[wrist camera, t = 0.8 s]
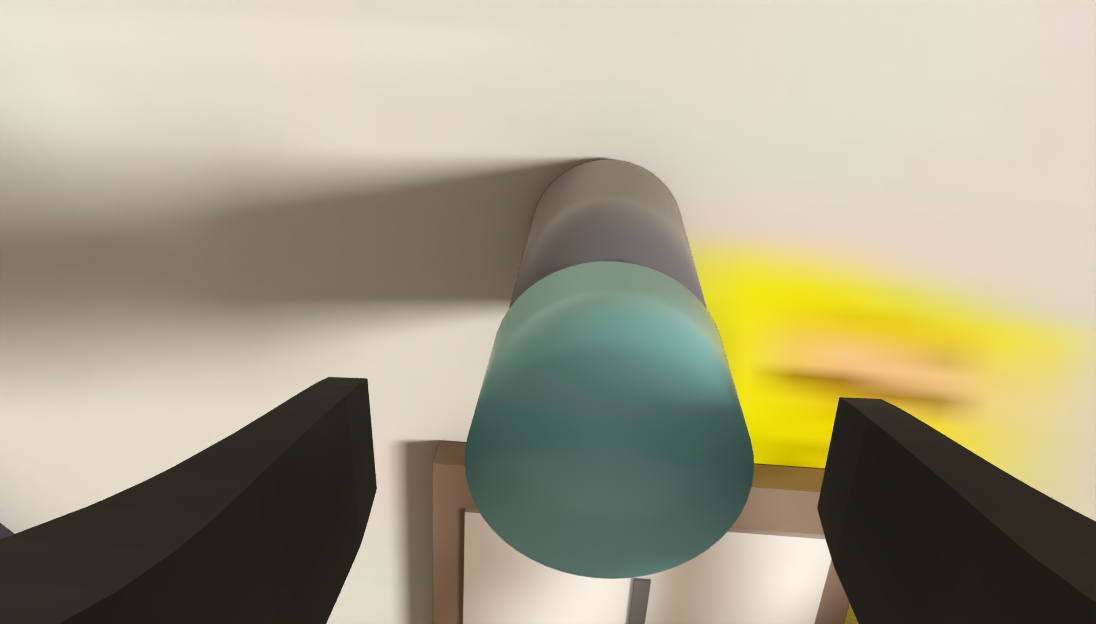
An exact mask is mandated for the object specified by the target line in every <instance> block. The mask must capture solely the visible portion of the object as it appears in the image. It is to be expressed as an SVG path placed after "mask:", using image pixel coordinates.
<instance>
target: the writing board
mask: <svg viewBox="0 0 1096 624" xmlns="http://www.w3.org/2000/svg"><path fill="white" fill-rule="evenodd" d="M465 447H466V443H462V442H448V441H440V442H439V445H438V448H437V451H436V454H435V457H434V460H433V624H844V621H845V617H846V614H847V610H848V607H849V603H850V602H849V600H848V598H847V596H846V593H845V591H844V589H843V587H842V584H841V582H840V580H839V577H838V575H837V573H836V570H835V568H834V565H833V562H832V559H831V556H830V552H829V549H828V546H827V543H826V539H825V536H824V532H823V528H822V525H821V521H820V517H819V514H818V510H817V506H818V501H819V496H820V491H821V486H822V481H823V476H824V471H825V469H815V468H801V467H788V466H774V465H760V464H754V474H753V481H752V487H751V490H750V493H749V496H748V500H747V502H746V504H745V506H744V508H743V510H742V512H741V514H740V516H739V517H738V518H737V520H736V521H735V523H734V524H733V526H732V527H731V528H730V529H729V530H728V531H727V533H726V534H725V535H724V536H723V537H722V538H721V539H720V540H719V541H717V542H716V543H715V544H714V545H713V546H711V547H710V548H709V549H708V550H706V551H705V552H703V553H702V554H700V555H698V556H697V557H695V558H694V559H692V560H690V561H687V562H685V563H683V564H681V565H679V566H677V567H674V568H671V569H668V570H666V571H663V572H659V573H655V574H651V575H647V576H640V577H633V578H620V579H604V578H591V577H584V576H577V575H573V574H569V573H565V572H561V571H558V570H555V569H552V568H550V567H547V566H544V565H542V564H540V563H538V562H536V561H534V560H531V559H529V558H528V557H526V556H525V555H523V554H521V553H520V552H518V551H516V550H515V549H514V548H512V547H511V546H510V545H509V544H507V543H506V542H505V541H503V540H502V539H501V538H500V537H499V536H498V535H497V534H496V533H495V532H494V531H493V530H492V529H491V527H490V526H489V525H488V524H487V522H486V521H485V520H484V519H483V517H482V516H481V514H480V512H479V510H478V509H477V507H476V505H475V504H474V501H473V499H472V496H471V494H470V491H469V488H468V484H467V480H466V475H465V462H464V459H465Z"/></svg>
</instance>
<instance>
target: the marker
mask: <svg viewBox="0 0 1096 624" xmlns="http://www.w3.org/2000/svg"><path fill="white" fill-rule="evenodd" d="M464 462H465V475H466V480H467V484H468V488H469V491H470V494H471V496H472V499H473V501H474V504H475V505H476V507H477V509H478V510H479V512H480V514H481V516H482V517H483V519H484V520H485V521H486V522H487V524H488V525H489V526H490V527H491V529H492V530H493V531H494V532H495V533H496V534H497V535H498V536H499V537H500V538H501V539H502V540H503V541H505V542H506V543H507V544H509V545H510V546H511V547H512V548H514V549H515V550H516V551H518V552H520V553H521V554H523V555H525V556H526V557H528V558H529V559H531V560H534V561H536V562H538V563H540V564H542V565H544V566H547V567H550V568H552V569H555V570H558V571H561V572H565V573H569V574H573V575H577V576H584V577H591V578H604V579H620V578H633V577H640V576H647V575H651V574H655V573H659V572H663V571H666V570H668V569H671V568H674V567H677V566H679V565H681V564H683V563H685V562H687V561H690V560H692V559H694V558H695V557H697V556H698V555H700V554H702V553H703V552H705V551H706V550H708V549H709V548H710V547H711V546H713V545H714V544H715V543H716V542H717V541H719V540H720V539H721V538H722V537H723V536H724V535H725V534H726V533H727V531H728V530H729V529H730V528H731V527H732V526H733V524H734V523H735V521H736V520H737V518H738V517H739V516H740V514H741V512H742V510H743V508H744V506H745V504H746V502H747V500H748V496H749V493H750V490H751V487H752V481H753V474H754V455H753V450H752V445H751V440H750V436H749V433H748V430H747V426H746V423H745V419H744V416H743V412H742V409H741V406H740V402H739V399H738V395H737V392H736V388H735V385H734V382H733V378H732V375H731V371H730V368H729V364H728V361H727V358H726V354H725V351H724V347H723V344H722V340H721V337H720V334H719V332H718V329H717V326H716V324H715V322H714V320H713V319H712V317H711V315H710V313H709V312H708V310H707V308H706V304H705V301H704V297H703V293H702V290H701V286H700V283H699V279H698V275H697V272H696V268H695V265H694V261H693V257H692V254H691V250H690V246H689V243H688V239H687V236H686V232H685V228H684V225H683V221H682V217H681V214H680V210H679V208H678V205H677V202H676V200H675V199H674V197H673V195H672V193H671V192H670V190H669V189H668V188H667V186H666V185H665V184H664V183H663V182H662V181H661V180H660V179H659V178H658V177H656V176H655V175H654V174H653V173H651V172H649V171H648V170H646V169H644V168H643V167H640V166H638V165H635V164H633V163H629V162H625V161H620V160H596V161H590V162H587V163H583V164H580V165H578V166H575V167H573V168H571V169H569V170H568V171H566V172H564V173H563V174H562V175H560V176H559V177H558V178H556V179H555V180H554V181H553V182H552V183H551V184H550V185H549V187H548V188H547V189H546V190H545V192H544V193H543V195H542V197H541V198H540V200H539V202H538V205H537V207H536V209H535V213H534V217H533V221H532V224H531V228H530V232H529V236H528V239H527V243H526V247H525V251H524V254H523V258H522V262H521V266H520V269H519V273H518V277H517V281H516V284H515V288H514V292H513V296H512V300H511V303H510V307H509V310H508V311H507V313H506V315H505V316H504V318H503V320H502V322H501V324H500V327H499V329H498V331H497V334H496V338H495V341H494V345H493V348H492V352H491V356H490V359H489V363H488V366H487V370H486V373H485V377H484V381H483V384H482V388H481V391H480V395H479V398H478V402H477V405H476V409H475V413H474V416H473V420H472V423H471V427H470V430H469V434H468V438H467V442H466V447H465V459H464Z"/></svg>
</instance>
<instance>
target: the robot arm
mask: <svg viewBox="0 0 1096 624" xmlns="http://www.w3.org/2000/svg"><path fill="white" fill-rule="evenodd" d="M376 489H377V486H376V474H375V463H374V451H373V439H372V427H371V416H370V404H369V392H368V380H367V379H364V378H339V377H328V378H326V379H324V380H321V381H319V382H318V383H316V384H314V385H312V386H310V387H309V388H307V389H305V390H304V391H302V392H300V393H299V394H297V395H295V396H294V397H292V398H291V399H289V400H287V401H286V402H284V403H283V404H281V405H279V406H278V407H276V408H274V409H273V410H271V411H270V412H268V413H266V414H265V415H263V416H261V417H260V418H258V419H256V420H255V421H253V422H252V423H250V424H248V425H247V426H245V427H243V428H242V429H240V430H238V431H237V432H235V433H233V434H232V435H230V436H228V437H226V438H225V439H223V440H221V441H219V442H217V443H216V444H214V445H212V446H210V447H208V448H207V449H205V450H203V451H201V452H199V453H198V454H196V455H194V456H192V457H190V458H189V459H187V460H185V461H183V462H181V463H180V464H178V465H176V466H174V467H172V468H170V469H168V470H166V471H164V472H162V473H160V474H158V475H156V476H154V477H152V478H150V479H148V480H146V481H144V482H142V483H140V484H138V485H135V486H133V487H131V488H129V489H126V490H124V491H122V492H120V493H118V494H115V495H113V496H111V497H109V498H106V499H104V500H102V501H100V502H97V503H95V504H92V505H90V506H88V507H85V508H83V509H80V510H77V511H75V512H72V513H69V514H67V515H64V516H61V517H59V518H56V519H53V520H51V521H48V522H45V523H43V524H40V525H38V526H35V527H32V528H30V529H27V530H24V531H22V532H19V533H16V534H14V535H11V536H8V537H5V538H2V539H0V624H326V623H327V621H328V618H329V616H330V614H331V612H332V609H333V607H334V605H335V603H336V600H337V598H338V596H339V594H340V591H341V589H342V587H343V585H344V582H345V580H346V578H347V576H348V573H349V571H350V569H351V566H352V564H353V562H354V559H355V557H356V555H357V552H358V550H359V548H360V545H361V542H362V539H363V536H364V532H365V529H366V526H367V522H368V519H369V515H370V512H371V508H372V504H373V500H374V497H375V493H376ZM817 510H818V514H819V517H820V521H821V525H822V528H823V532H824V536H825V539H826V543H827V546H828V549H829V552H830V556H831V559H832V562H833V565H834V568H835V570H836V573H837V575H838V577H839V580H840V582H841V584H842V587H843V589H844V591H845V593H846V596H847V598H848V600H849V602H850V605H851V607H852V609H853V611H854V614H855V616H856V618H857V620H858V622H859V624H1096V521H1094V520H1092V519H1090V518H1088V517H1086V516H1084V515H1082V514H1080V513H1078V512H1076V511H1074V510H1072V509H1071V508H1069V507H1067V506H1065V505H1063V504H1061V503H1060V502H1058V501H1056V500H1054V499H1052V498H1050V497H1049V496H1047V495H1045V494H1043V493H1041V492H1039V491H1038V490H1036V489H1034V488H1032V487H1030V486H1029V485H1027V484H1025V483H1023V482H1022V481H1020V480H1018V479H1016V478H1015V477H1013V476H1011V475H1009V474H1008V473H1006V472H1004V471H1003V470H1001V469H999V468H998V467H996V466H994V465H993V464H991V463H989V462H988V461H986V460H984V459H983V458H981V457H979V456H978V455H976V454H974V453H973V452H971V451H969V450H968V449H966V448H965V447H963V446H961V445H960V444H958V443H956V442H955V441H953V440H951V439H950V438H948V437H947V436H945V435H943V434H942V433H940V432H938V431H937V430H935V429H934V428H932V427H930V426H929V425H927V424H925V423H924V422H922V421H920V420H919V419H917V418H915V417H914V416H912V415H910V414H909V413H907V412H905V411H903V410H901V409H900V408H898V407H896V406H894V405H892V404H890V403H888V402H886V401H884V400H882V399H867V398H842V397H839V402H838V407H837V412H836V417H835V422H834V427H833V432H832V437H831V442H830V447H829V452H828V457H827V462H826V466H825V471H824V476H823V481H822V486H821V491H820V496H819V501H818V506H817Z"/></svg>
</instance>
